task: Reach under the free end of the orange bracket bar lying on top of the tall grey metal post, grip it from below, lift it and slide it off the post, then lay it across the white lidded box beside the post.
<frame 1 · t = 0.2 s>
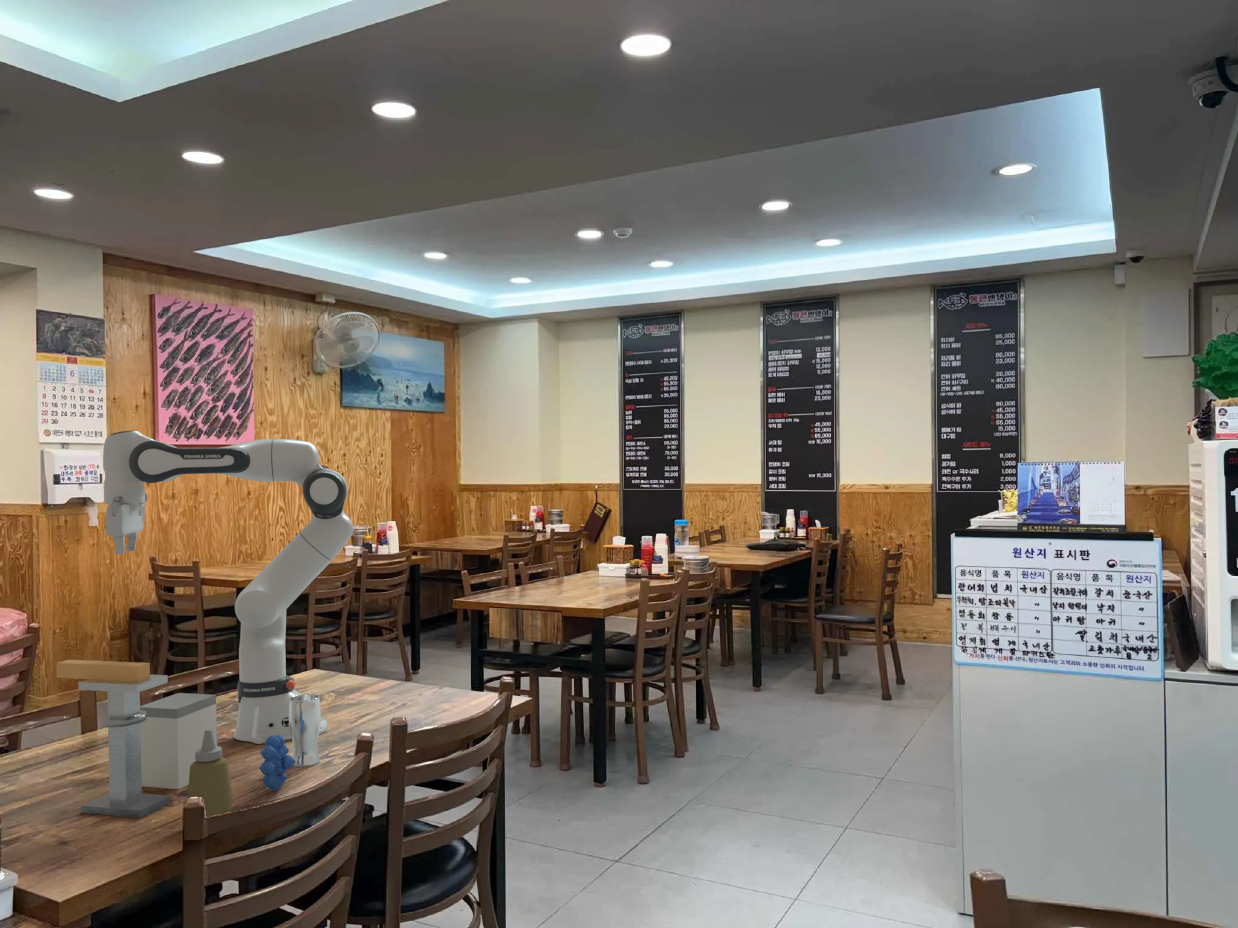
hand: (126, 552, 218), 48 cm above the table, tool pointing down, fingers open, 8 cm apart
post: (126, 807, 178), on the table
squeeze bottle: (210, 825, 168), on the table
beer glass: (305, 763, 203), on the table
white lidded box: (179, 777, 195), on the table
grapes: (279, 791, 186), on the table
bracket bar: (103, 677, 179), point 26 cm above the table, touching post
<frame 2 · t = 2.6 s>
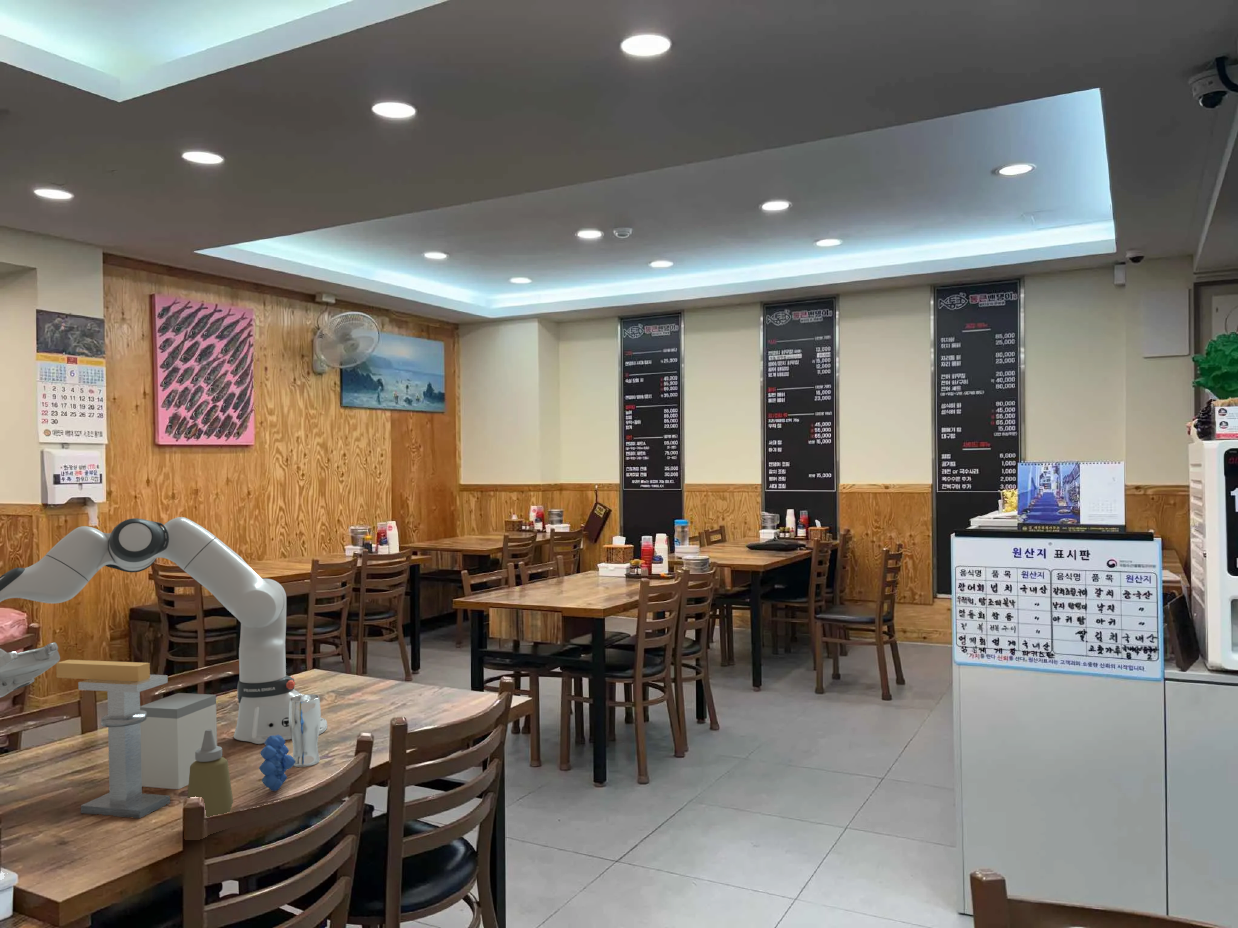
hand: (34, 650, 183), 31 cm above the table, tool pointing upward, fingers open, 8 cm apart
nothing on the table moved.
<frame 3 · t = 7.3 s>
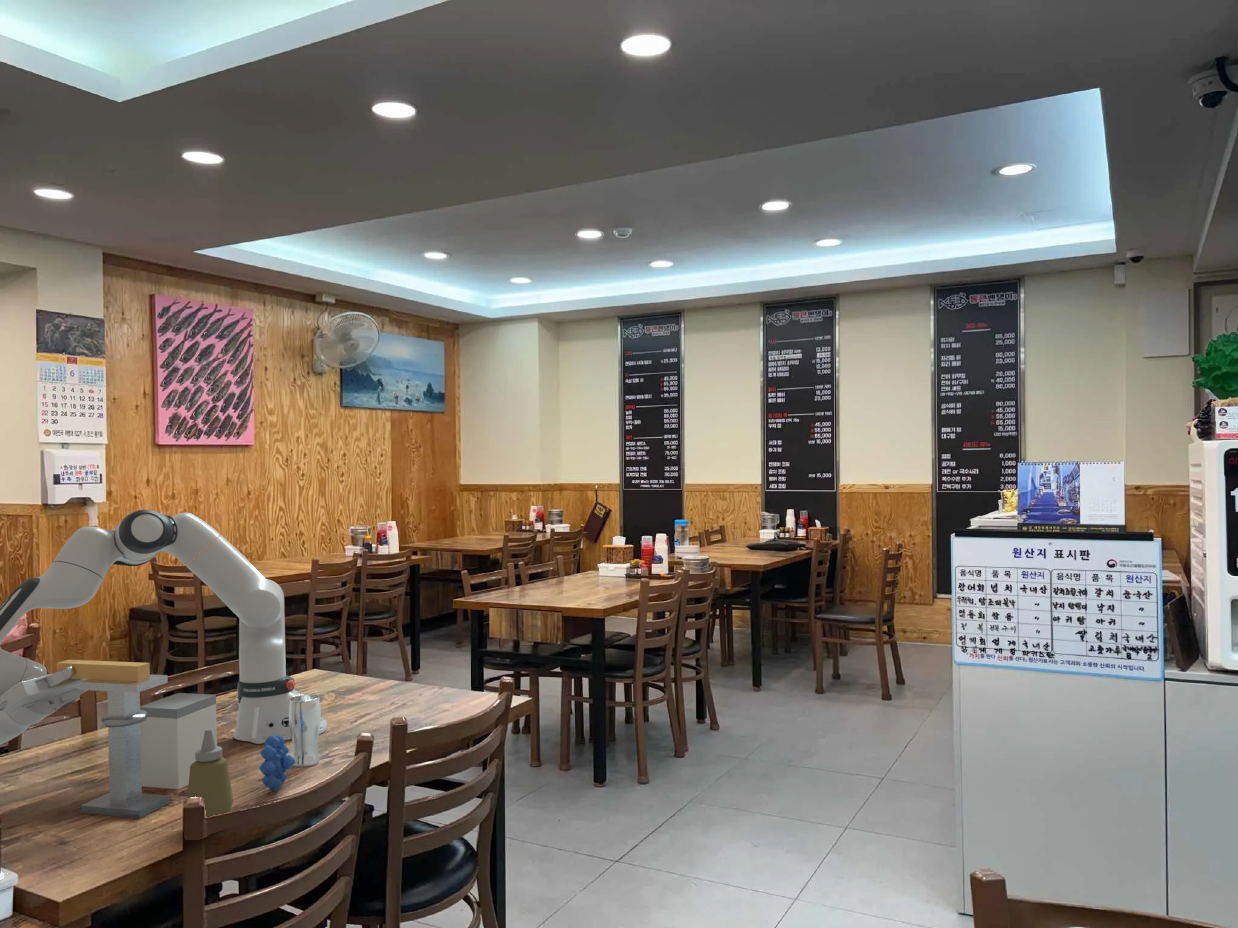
hand: (81, 667, 180), 28 cm above the table, tool pointing upward, fingers closed on bracket bar, 3 cm apart
bracket bar: (103, 677, 179), point 26 cm above the table, touching gripper, post
everything else where it was.
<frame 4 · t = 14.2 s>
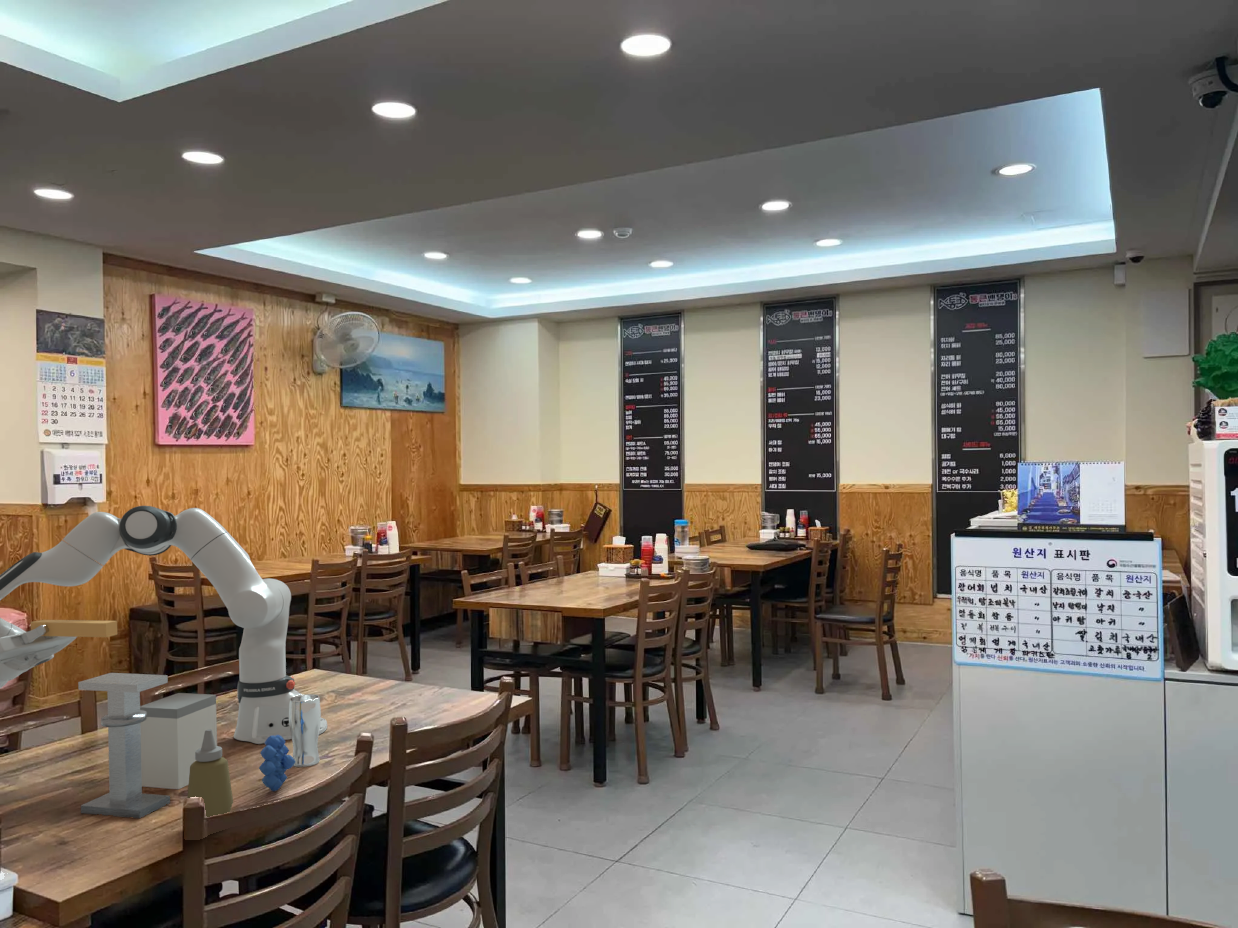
hand: (54, 625, 195), 34 cm above the table, tool pointing upward, fingers closed on bracket bar, 3 cm apart
bracket bar: (74, 635, 193), point 32 cm above the table, touching gripper
everything else where it was.
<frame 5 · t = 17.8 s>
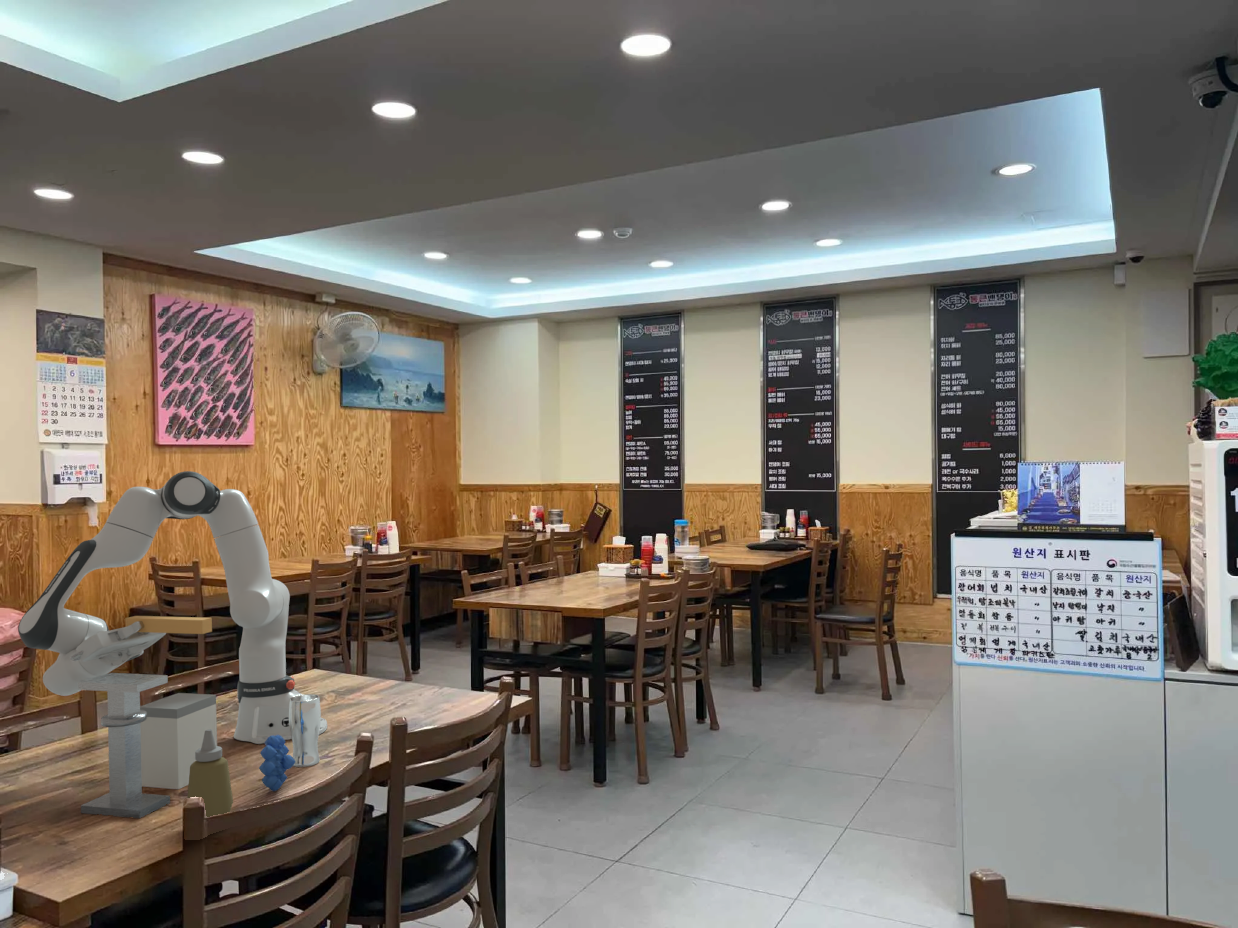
hand: (148, 622, 197), 34 cm above the table, tool pointing upward, fingers closed on bracket bar, 3 cm apart
bracket bar: (168, 631, 195), point 32 cm above the table, touching gripper
everything else where it was.
when the fingers open (20 cm above the table, at t = 21.3 s): bracket bar stays where it is, resting on white lidded box.
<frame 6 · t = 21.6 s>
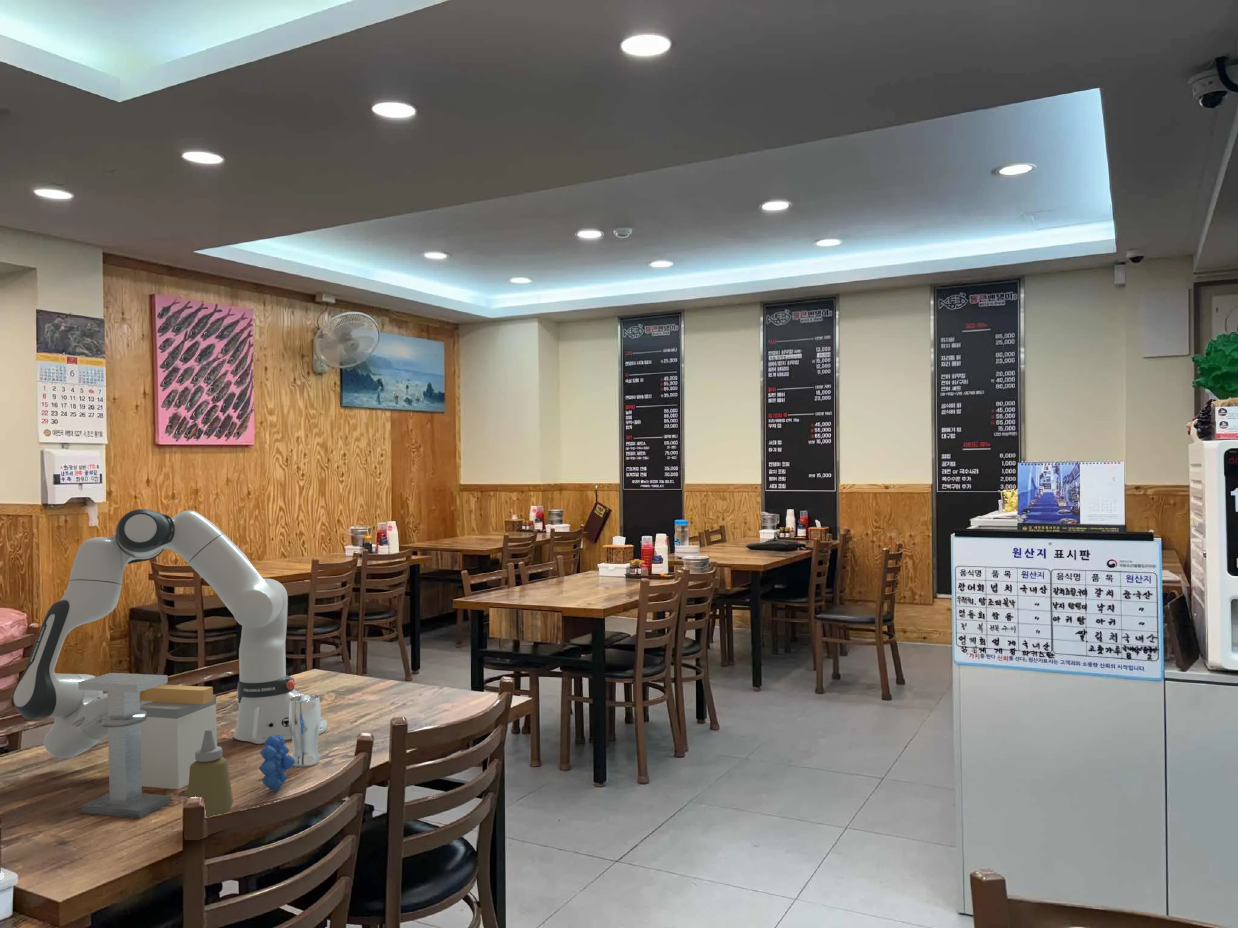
hand: (150, 685, 197), 20 cm above the table, tool pointing upward, fingers open, 6 cm apart
bracket bar: (169, 700, 195), point 17 cm above the table, touching white lidded box
everything else where it was.
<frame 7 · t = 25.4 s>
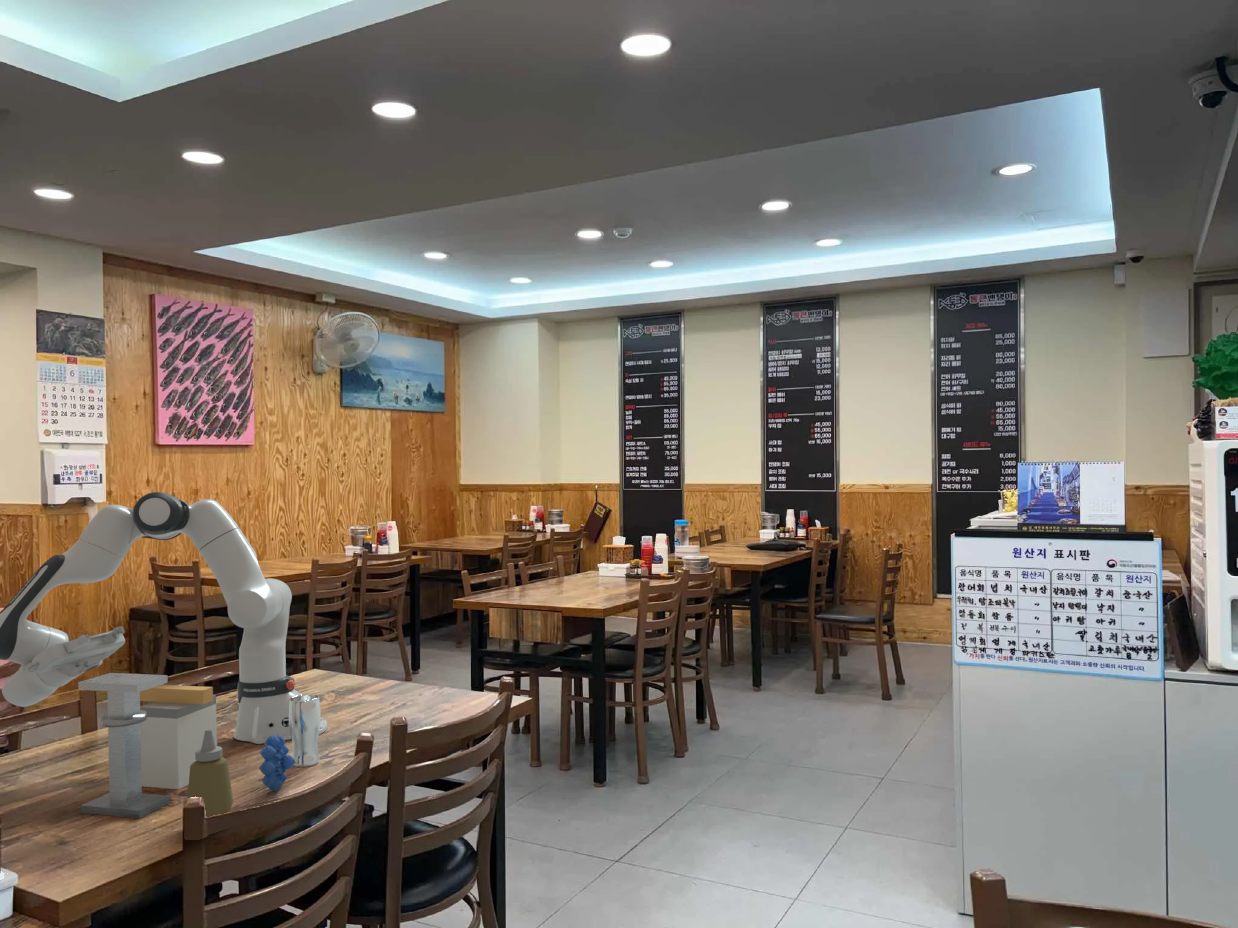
hand: (104, 633, 200), 31 cm above the table, tool pointing upward, fingers open, 8 cm apart
nothing on the table moved.
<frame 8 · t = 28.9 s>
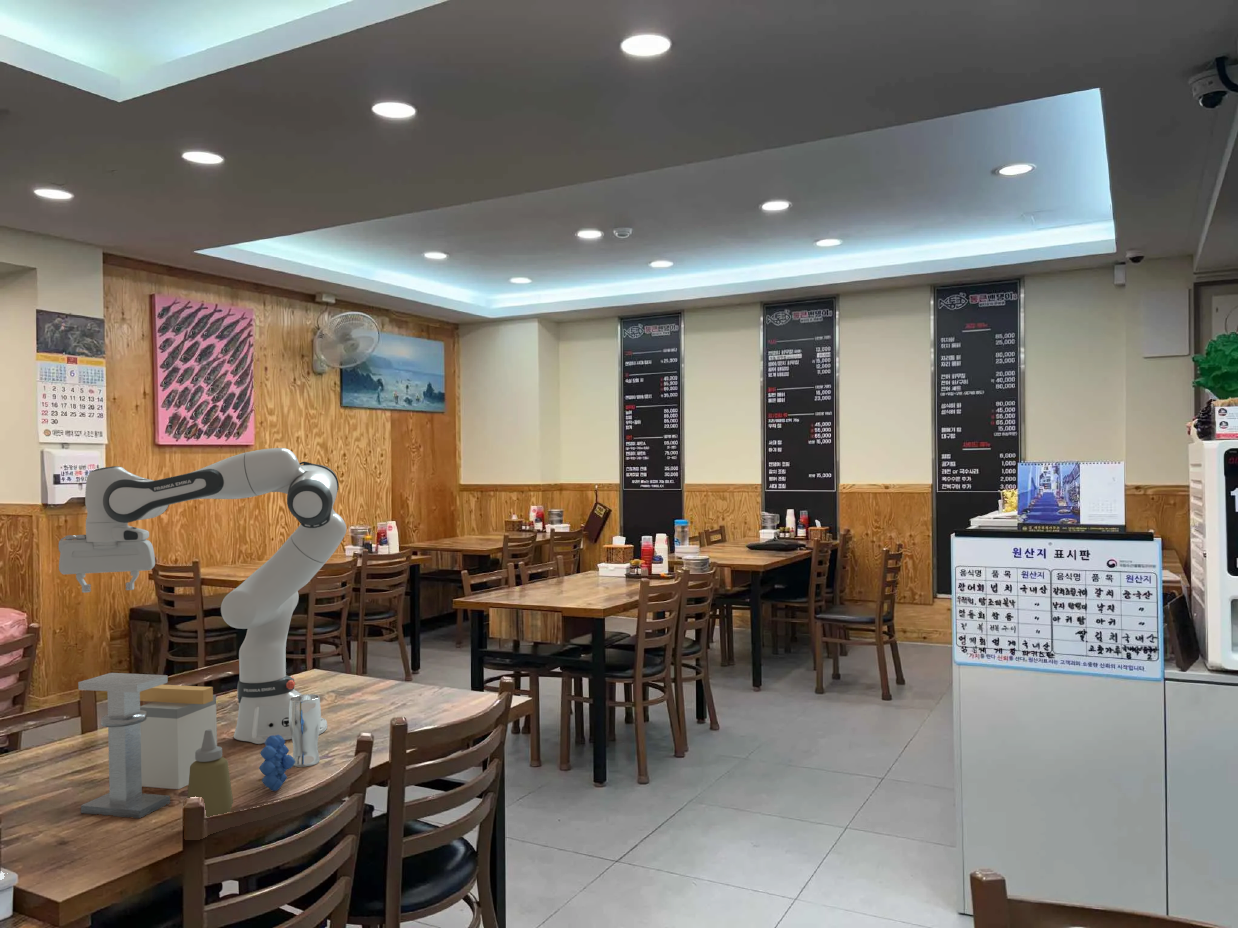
hand: (108, 590, 214), 39 cm above the table, tool pointing down, fingers open, 8 cm apart
nothing on the table moved.
at the end: bracket bar inside the target area on the white lidded box (1.6 cm from its centre), point 17.0 cm above the white lidded box's base; bracket bar touching white lidded box; the gripper is holding nothing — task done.
